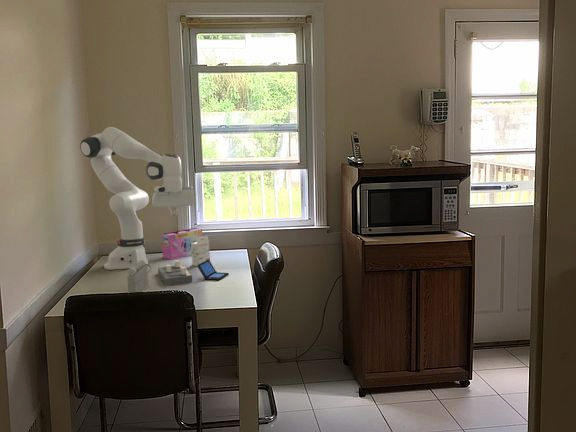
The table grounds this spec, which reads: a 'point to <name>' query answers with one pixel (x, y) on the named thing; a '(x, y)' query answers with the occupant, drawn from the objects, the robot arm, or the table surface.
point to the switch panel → (174, 275)
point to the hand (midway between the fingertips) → (174, 215)
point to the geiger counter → (138, 277)
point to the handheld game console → (210, 272)
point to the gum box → (179, 242)
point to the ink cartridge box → (200, 251)
